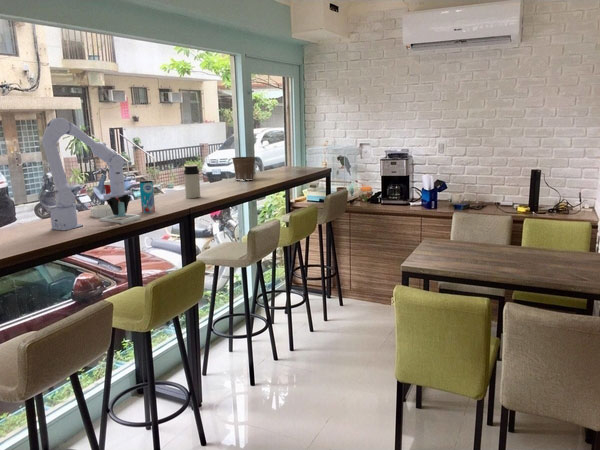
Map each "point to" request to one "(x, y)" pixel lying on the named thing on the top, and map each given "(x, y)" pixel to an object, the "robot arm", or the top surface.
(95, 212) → the bowl
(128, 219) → the tray
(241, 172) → the plant pot
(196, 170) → the travel mug
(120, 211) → the peg
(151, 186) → the beverage can
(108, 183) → the paper cup
